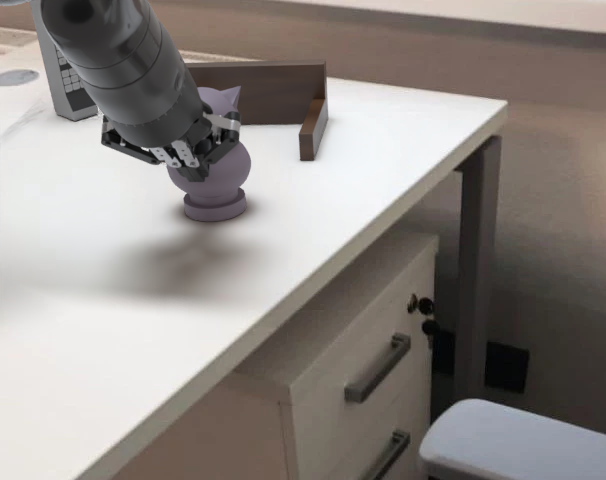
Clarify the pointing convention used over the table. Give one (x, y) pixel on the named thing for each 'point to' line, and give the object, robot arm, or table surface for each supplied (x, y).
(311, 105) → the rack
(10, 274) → the table surface
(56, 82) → the vintage mobile phone
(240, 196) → the cat figurine
